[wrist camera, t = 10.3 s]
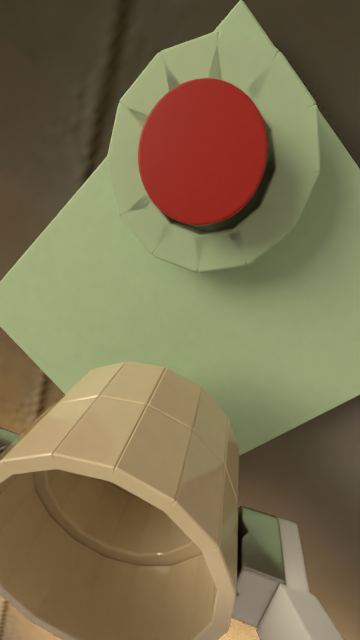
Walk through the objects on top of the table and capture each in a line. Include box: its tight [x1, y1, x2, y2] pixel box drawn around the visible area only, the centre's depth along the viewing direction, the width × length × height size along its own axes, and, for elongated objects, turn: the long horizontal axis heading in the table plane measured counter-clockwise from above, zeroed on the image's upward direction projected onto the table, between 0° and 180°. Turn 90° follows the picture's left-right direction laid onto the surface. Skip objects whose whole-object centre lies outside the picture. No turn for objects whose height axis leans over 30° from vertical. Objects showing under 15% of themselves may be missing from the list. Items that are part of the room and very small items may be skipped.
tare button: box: [138, 78, 268, 225], centre depth 8 cm, size 3×3×2 cm
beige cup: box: [0, 361, 239, 640], centre depth 9 cm, size 6×6×4 cm
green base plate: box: [0, 0, 360, 456], centre depth 12 cm, size 15×13×3 cm
